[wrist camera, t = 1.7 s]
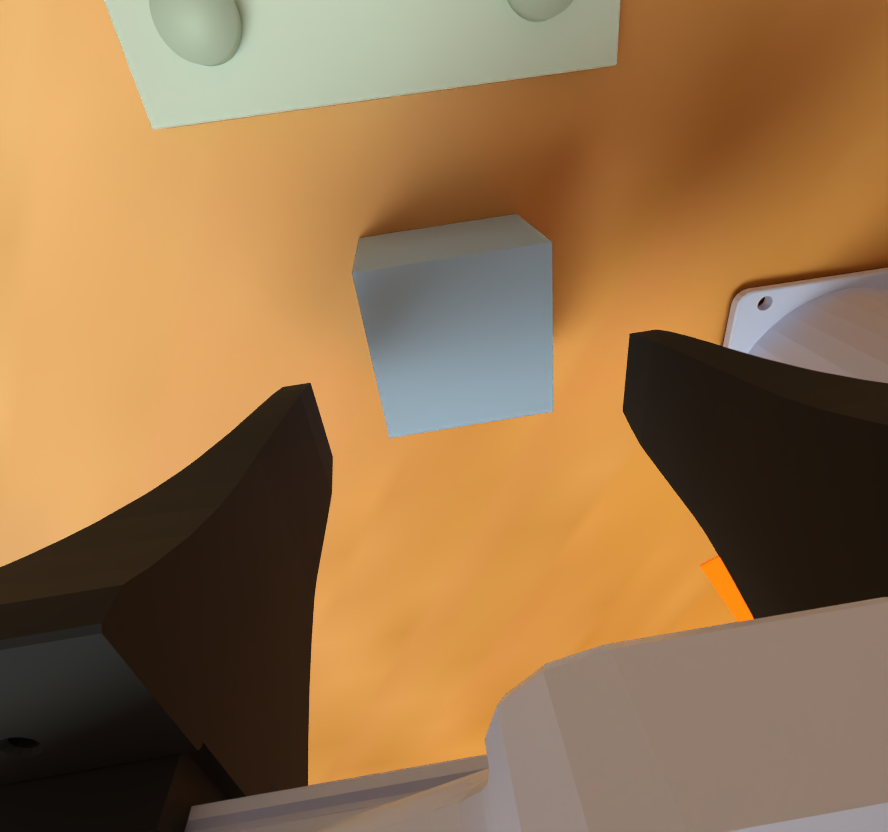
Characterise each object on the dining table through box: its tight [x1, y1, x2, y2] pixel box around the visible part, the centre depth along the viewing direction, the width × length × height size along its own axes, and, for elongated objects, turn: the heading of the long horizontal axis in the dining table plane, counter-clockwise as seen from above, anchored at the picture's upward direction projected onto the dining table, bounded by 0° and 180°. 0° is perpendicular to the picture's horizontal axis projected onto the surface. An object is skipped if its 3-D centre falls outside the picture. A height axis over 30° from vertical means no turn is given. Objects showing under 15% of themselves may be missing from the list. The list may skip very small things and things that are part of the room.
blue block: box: [352, 214, 553, 438], centre depth 15 cm, size 5×5×4 cm
